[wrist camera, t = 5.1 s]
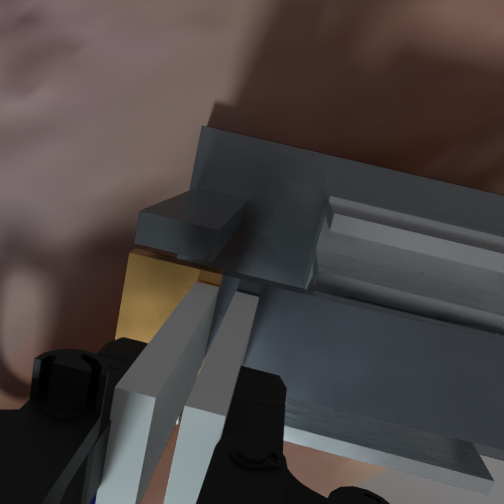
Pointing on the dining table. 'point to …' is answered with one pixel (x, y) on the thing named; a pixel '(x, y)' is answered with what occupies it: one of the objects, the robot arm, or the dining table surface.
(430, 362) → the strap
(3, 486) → the robot arm
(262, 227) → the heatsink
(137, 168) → the dining table surface
